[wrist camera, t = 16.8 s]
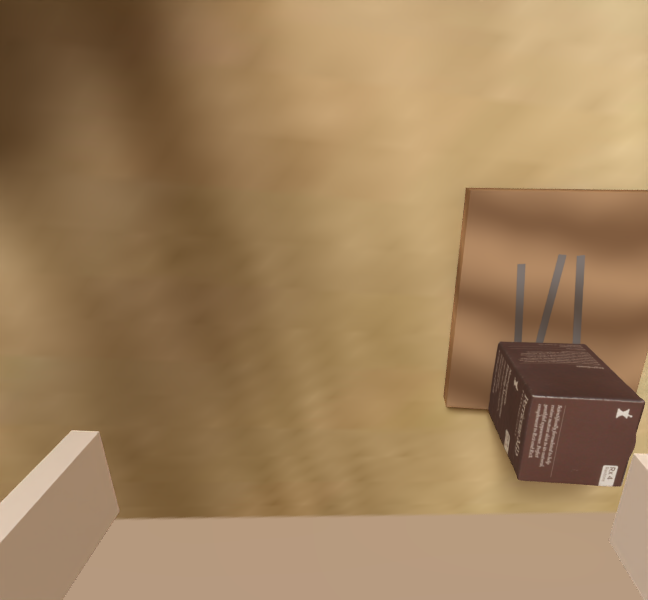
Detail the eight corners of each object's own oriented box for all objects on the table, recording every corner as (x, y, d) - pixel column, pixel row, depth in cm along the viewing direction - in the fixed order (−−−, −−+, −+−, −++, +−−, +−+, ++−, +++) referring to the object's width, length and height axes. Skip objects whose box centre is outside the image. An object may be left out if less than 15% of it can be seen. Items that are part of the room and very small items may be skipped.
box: (497, 337, 31) (532, 393, 24) (587, 341, 30) (649, 400, 23) (486, 411, 33) (515, 482, 26) (570, 416, 32) (623, 490, 25)
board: (466, 188, 29) (470, 190, 28) (675, 190, 28) (691, 193, 26) (443, 395, 35) (446, 406, 33) (618, 406, 33) (629, 418, 32)
